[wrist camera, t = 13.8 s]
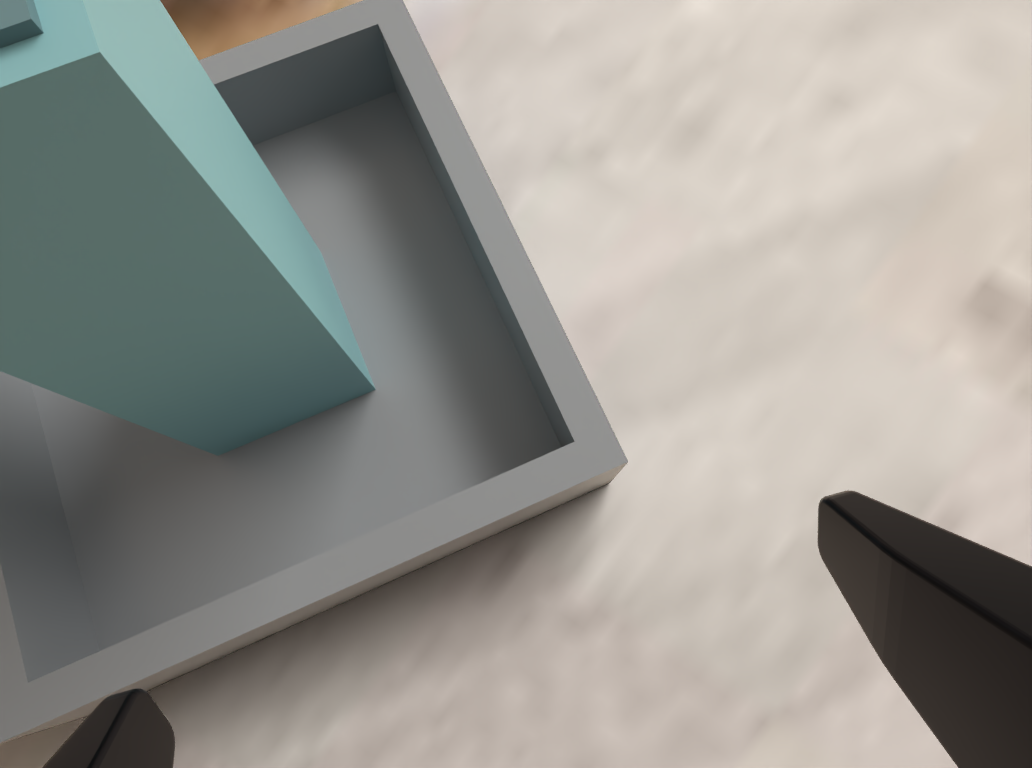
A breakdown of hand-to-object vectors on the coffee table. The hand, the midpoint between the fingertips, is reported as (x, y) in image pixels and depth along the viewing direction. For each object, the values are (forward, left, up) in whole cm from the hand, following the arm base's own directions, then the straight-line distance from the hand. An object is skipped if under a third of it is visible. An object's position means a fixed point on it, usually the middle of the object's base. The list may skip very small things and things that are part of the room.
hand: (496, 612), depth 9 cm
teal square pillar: (-5, +9, -11) cm, 15 cm away
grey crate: (-5, +9, -12) cm, 16 cm away
